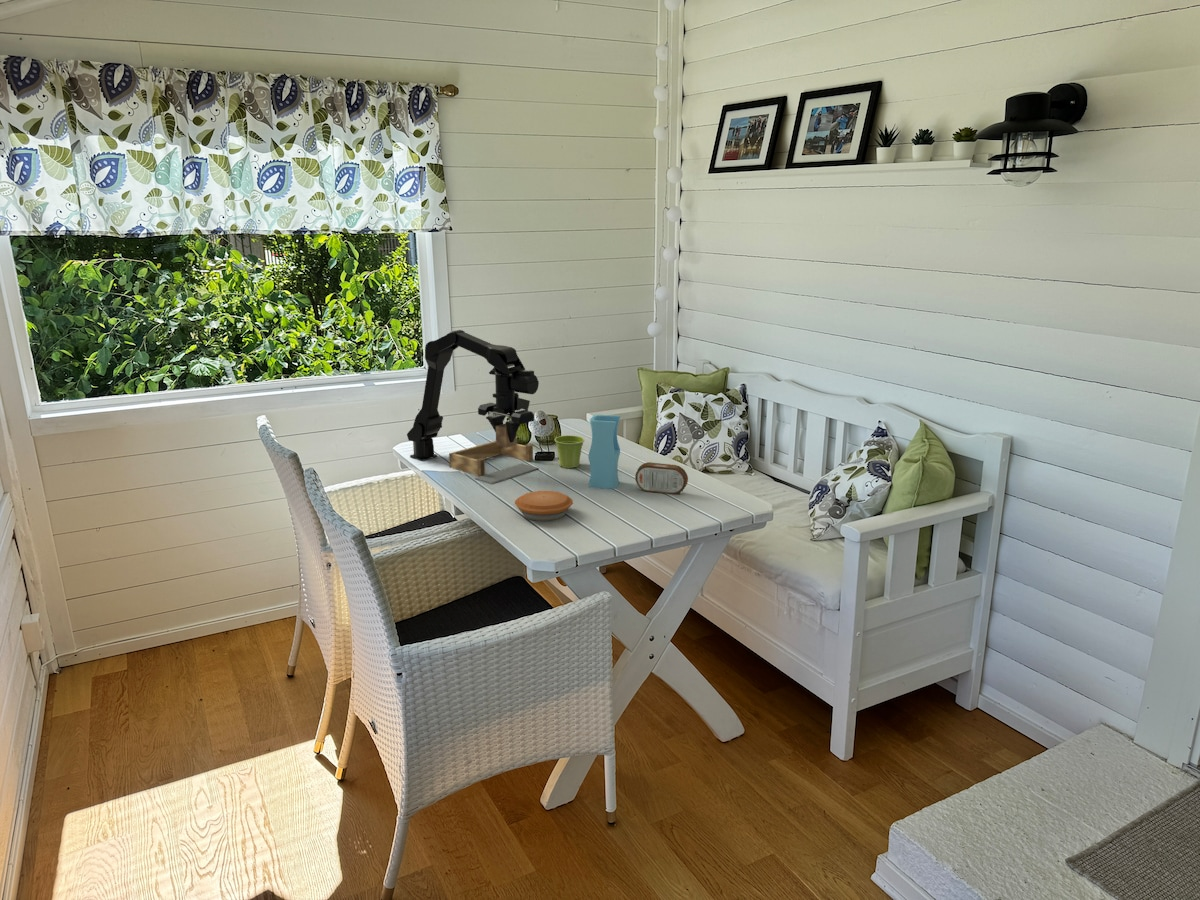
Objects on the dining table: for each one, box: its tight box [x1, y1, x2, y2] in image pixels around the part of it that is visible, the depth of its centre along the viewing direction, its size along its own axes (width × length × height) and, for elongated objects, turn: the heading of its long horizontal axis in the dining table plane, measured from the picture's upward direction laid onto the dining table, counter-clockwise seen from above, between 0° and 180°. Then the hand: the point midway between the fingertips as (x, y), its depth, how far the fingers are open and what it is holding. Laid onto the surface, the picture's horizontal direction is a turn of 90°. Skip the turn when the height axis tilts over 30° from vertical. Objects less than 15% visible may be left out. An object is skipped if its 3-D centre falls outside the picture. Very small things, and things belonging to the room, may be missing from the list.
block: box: [495, 422, 518, 448], centre depth 265 cm, size 4×4×6 cm
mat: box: [474, 462, 540, 485], centre depth 268 cm, size 7×20×1 cm, turn 140°
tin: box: [634, 461, 689, 495], centre depth 251 cm, size 15×3×8 cm, turn 74°
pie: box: [514, 490, 574, 522], centre depth 234 cm, size 15×16×5 cm
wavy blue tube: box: [587, 414, 621, 490], centre depth 256 cm, size 8×8×20 cm
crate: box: [448, 440, 534, 477], centre depth 277 cm, size 14×23×5 cm, turn 140°
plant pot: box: [554, 434, 585, 469], centre depth 275 cm, size 9×9×9 cm
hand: (506, 440), depth 265 cm, fingers closed on block, 4 cm apart
